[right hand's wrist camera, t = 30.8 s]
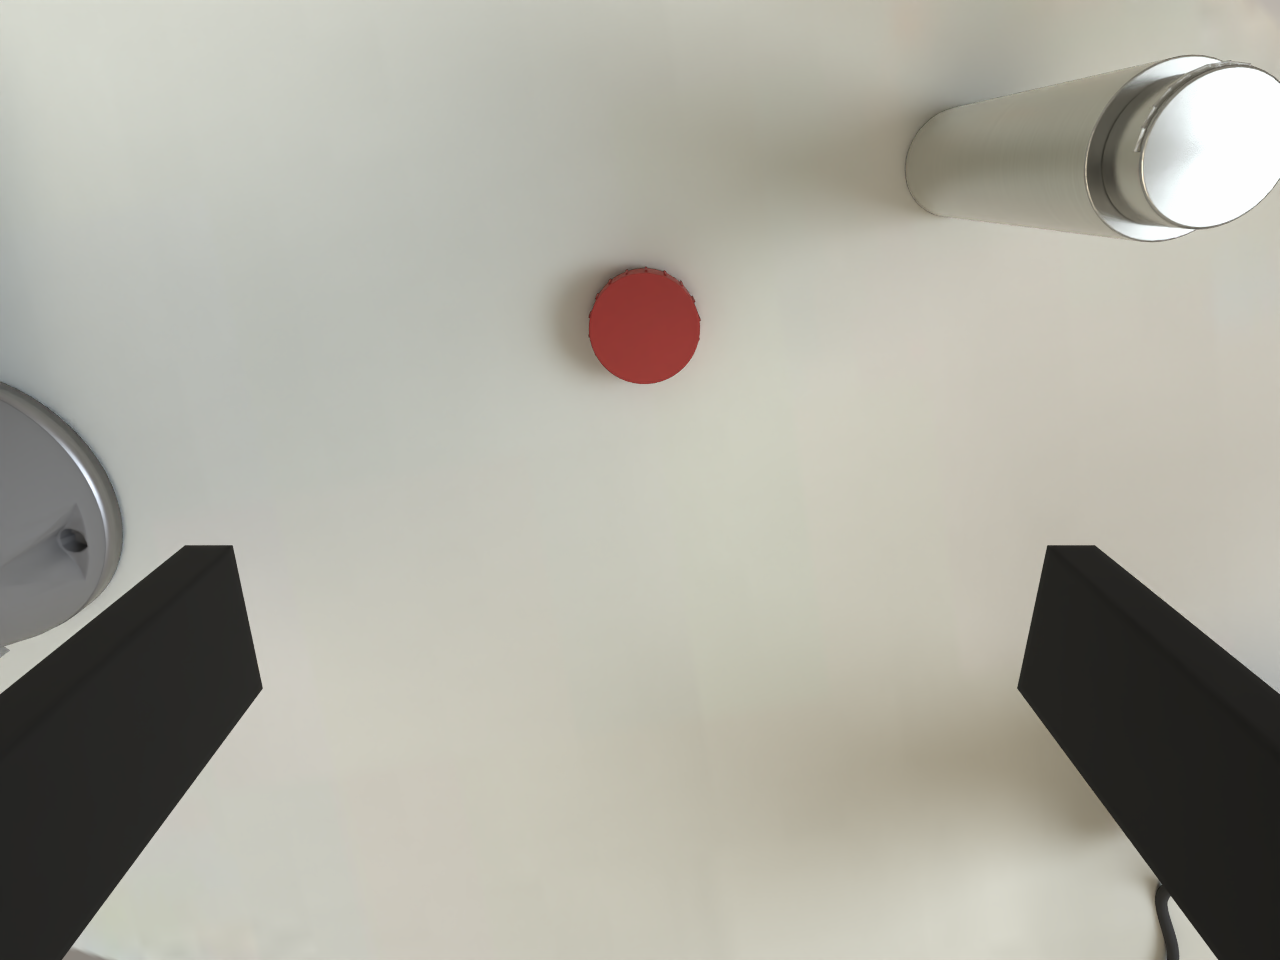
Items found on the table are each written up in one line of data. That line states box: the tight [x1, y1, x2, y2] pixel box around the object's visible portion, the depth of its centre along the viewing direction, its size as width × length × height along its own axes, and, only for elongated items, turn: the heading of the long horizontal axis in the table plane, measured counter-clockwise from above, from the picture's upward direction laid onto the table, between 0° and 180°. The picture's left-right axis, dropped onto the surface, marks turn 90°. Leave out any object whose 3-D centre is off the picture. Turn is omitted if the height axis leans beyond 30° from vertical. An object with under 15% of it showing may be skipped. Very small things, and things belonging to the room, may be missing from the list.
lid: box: [589, 267, 701, 384], centre depth 38 cm, size 5×6×2 cm
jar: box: [905, 55, 1280, 242], centre depth 28 cm, size 5×5×18 cm
